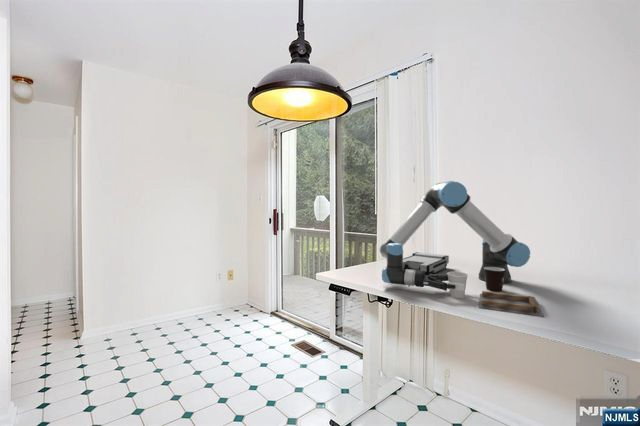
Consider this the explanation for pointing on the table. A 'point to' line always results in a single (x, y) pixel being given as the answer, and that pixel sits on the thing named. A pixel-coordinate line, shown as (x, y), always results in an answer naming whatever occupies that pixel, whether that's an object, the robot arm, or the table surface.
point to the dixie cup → (457, 278)
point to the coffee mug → (494, 278)
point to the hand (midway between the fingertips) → (465, 283)
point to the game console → (426, 262)
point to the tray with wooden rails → (510, 303)
